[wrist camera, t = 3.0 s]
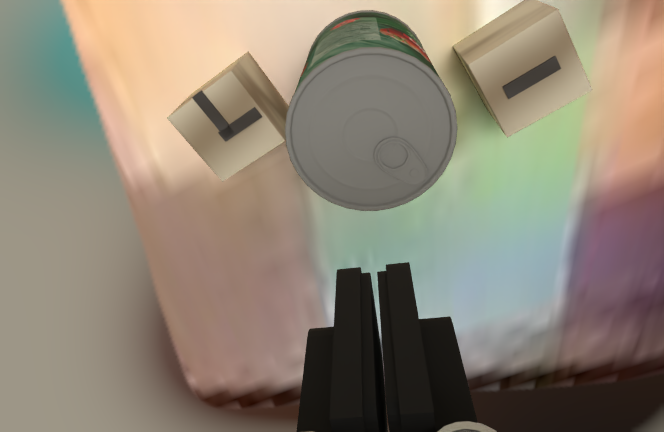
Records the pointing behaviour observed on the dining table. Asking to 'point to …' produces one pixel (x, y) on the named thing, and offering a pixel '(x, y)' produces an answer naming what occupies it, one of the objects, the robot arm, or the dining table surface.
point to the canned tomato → (370, 115)
